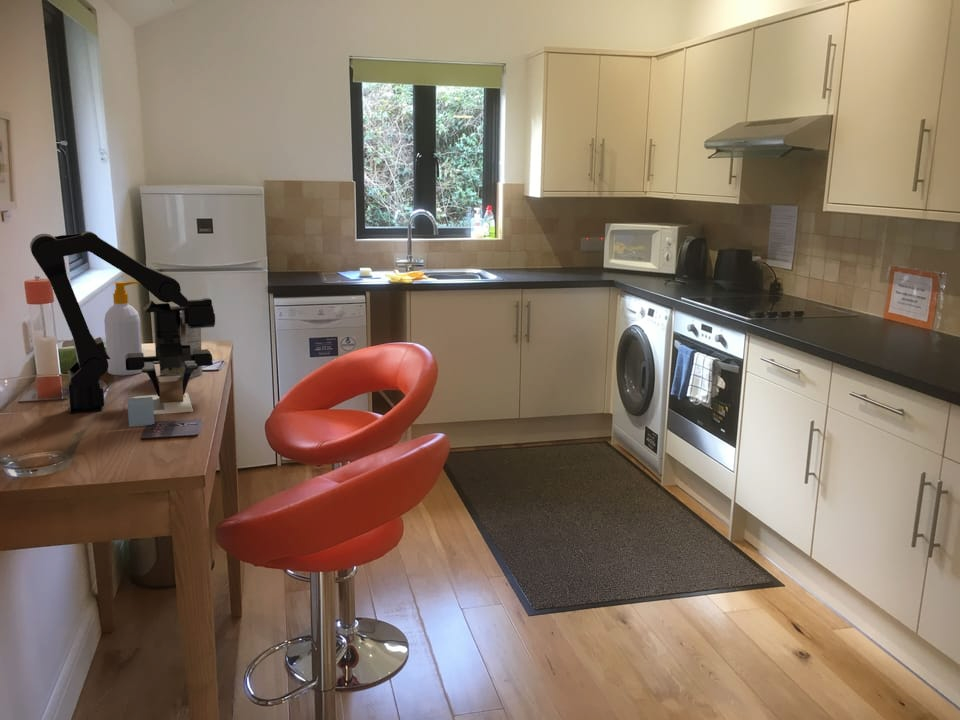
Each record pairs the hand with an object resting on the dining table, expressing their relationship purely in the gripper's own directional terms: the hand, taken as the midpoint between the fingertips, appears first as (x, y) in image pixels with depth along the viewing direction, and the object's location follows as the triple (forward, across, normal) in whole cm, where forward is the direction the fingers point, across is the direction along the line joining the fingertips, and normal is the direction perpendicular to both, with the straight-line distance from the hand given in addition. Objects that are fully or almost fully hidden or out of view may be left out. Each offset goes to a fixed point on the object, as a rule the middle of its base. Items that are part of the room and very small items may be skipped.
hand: (171, 395), depth 192 cm
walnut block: (+1, 0, 0) cm, 1 cm away
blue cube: (+1, -7, -16) cm, 18 cm away
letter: (+1, -2, -3) cm, 4 cm away
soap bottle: (+1, -9, +31) cm, 32 cm away
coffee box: (+2, +4, +24) cm, 24 cm away
